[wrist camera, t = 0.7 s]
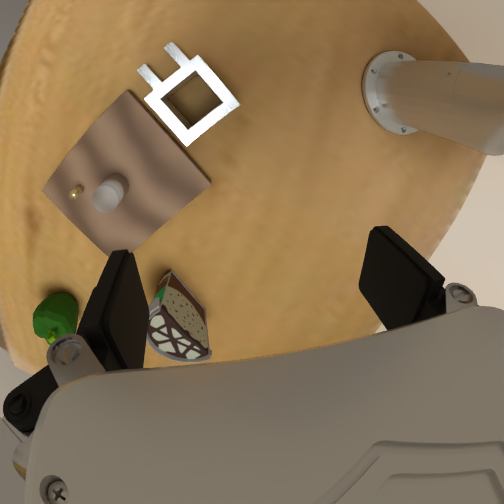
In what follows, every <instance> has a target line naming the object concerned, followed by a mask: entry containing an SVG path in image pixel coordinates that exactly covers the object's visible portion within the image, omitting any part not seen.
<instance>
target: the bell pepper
mask: <svg viewBox="0 0 504 504" xmlns="http://www.w3.org/2000/svg"><path fill="white" fill-rule="evenodd" d="M77 321H78V308H77V303H76V301H75V300H74V299H73V297H71V296H70V295H69V294H67V293H58V294H51V295H49V296H48V297H47V298H46V299H44V300H43V301H42V302H41V303H40V304H39V305H38V306H37V308H36V310H35V311H34V313H33V327H34V332H35V334H36V335H37V336H39V337H40V338H45V339H46V341H47V343H48V344H49V345H51V344H52V343H53V341H55V340H56V339H57V338H59V337H61V336H63V335H66V334H75V333H76V329H77Z"/></svg>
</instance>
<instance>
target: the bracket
mask: <svg viewBox="0 0 504 504" xmlns="http://www.w3.org/2000/svg"><path fill="white" fill-rule="evenodd" d="M164 49H165V50H166V51H167V52H168V53H169V54H170V55H171V56H172V58H173V59H174V60H175V61H176V62H177V63H178V64H179V65H180V66H181V68H180V69H179V70H177V71H176V72H175V73H174V74H172V75H171V76H170V77H169V78H167V79H166V80H165V81H164V82H163V81H162V80H161V79H160V78H159V77H158V76H157V75H156V74H155V73H154V72H153V71H152V69H151V68H150V67H149V66H148V65H146V64H144V65H142V66H141V67H140V68H139V69H138V70H137V72H138V73H139V74H140V75H141V76H142V77H143V78H144V79H145V80H146V81H147V82H148V83H149V85H150V86H151V87H152V88H153V89H154V90H153V91H152V92H151V93H150V94H149V95H148V96H146V97H145V98H144V100H145V101H146V102H147V103H148V104H149V105H150V106H151V107H152V108H153V110H154V111H155V112H156V113H157V114H158V115H159V116H160V117H161V118H162V120H163V121H164V122H165V123H166V124H167V125H168V126H169V127H170V128H171V130H172V131H173V132H174V133H175V134H176V135H177V136H178V137H179V139H180V140H181V141H182V142H183V143H184V144H185V145H186V146H187V145H189V144H190V143H191V142H192V141H194V140H195V139H196V138H197V137H198V136H200V135H201V134H202V133H203V132H205V131H206V130H207V129H208V128H210V127H211V126H212V125H214V124H215V123H216V122H218V121H219V120H220V119H221V118H223V117H224V116H225V115H227V114H228V113H229V112H231V111H232V110H234V109H235V108H236V107H238V106H239V105H240V104H239V102H238V101H237V100H236V99H235V97H234V96H233V95H232V94H231V93H230V91H229V90H228V89H227V88H226V87H225V85H224V84H223V83H222V82H221V81H220V79H219V78H218V77H217V76H216V75H215V74H214V72H213V71H212V70H211V69H210V68H209V67H208V66H207V64H206V63H205V62H204V61H203V60H202V59H201V58H200V57H199V55H197V56H196V57H194V58H193V59H192V60H189V59H188V58H187V57H186V56H185V55H184V54H183V53H182V52H181V51H180V49H179V48H178V47H177V46H176V45H175V44H174V43H173V42H171V43H169V44H168V45H167V46H166V47H164ZM196 75H199V76H200V77H201V78H202V79H203V81H204V82H205V83H206V84H207V85H208V86H209V87H210V89H211V90H212V91H213V92H214V93H215V95H216V96H217V97H218V98H219V99H220V100H221V103H219V104H218V105H217V106H215V107H214V108H213V109H212V110H210V111H209V112H208V113H206V114H205V115H204V116H203V117H201V118H200V119H199V120H197V121H196V122H195V123H194V124H193V125H191V124H190V123H189V122H188V121H187V120H186V119H185V117H184V116H183V115H182V114H181V113H180V112H179V111H178V110H177V108H176V107H175V106H174V105H173V104H172V103H171V102H170V101H169V99H168V98H169V97H170V96H171V95H172V94H174V93H175V92H176V91H177V90H178V89H180V88H181V87H182V86H183V85H185V84H186V83H187V82H189V81H190V80H191V79H192V78H194V77H195V76H196Z"/></svg>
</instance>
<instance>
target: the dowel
mask: <svg viewBox="0 0 504 504" xmlns="http://www.w3.org/2000/svg"><path fill="white" fill-rule="evenodd" d="M83 191H84V187H83V185H78V186H76V187H75V188H74V189H73V190H72V191H70V192H69V198H70V199H71V200H75V199H76V198H77V197H78V196H79V195H80V194H82V193H83Z"/></svg>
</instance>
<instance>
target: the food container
mask: <svg viewBox="0 0 504 504" xmlns="http://www.w3.org/2000/svg"><path fill="white" fill-rule="evenodd" d="M148 307H149V312H150V317H149V324H148V331H147V338H146V340H147V342H148V343H149V345H150V346H151V347H152V348H153V349H154V350H155V351H156V352H157V353H159V354H160V355H162V356H164V357H166V358H168V359H171V360H174V361H179V362H186V363H195V362H202V361H206V360H209V359H210V357H211V354H212V350H210V348H209V339H208V330H207V321H206V310H205V308H204V306H203V305H202V304H201V303H200V302H199V301H198V300H197V299H196V297H195V296H194V295H193V294H192V293H191V292H190V291H189V289H188V288H187V287H186V286H185V285H184V284H183V282H182V281H181V280H180V279H179V278H178V276H177V275H176V274H175V273H174V272H173V271H172V269H171V270H169V271H168V272H166V273H165V275H164V276H163V277H162V278H161V280H160V283H159V286H158V288H157V291H156V294H155V297H154V300H153V301H152V302H151V303H150V304H149V305H148Z"/></svg>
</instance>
